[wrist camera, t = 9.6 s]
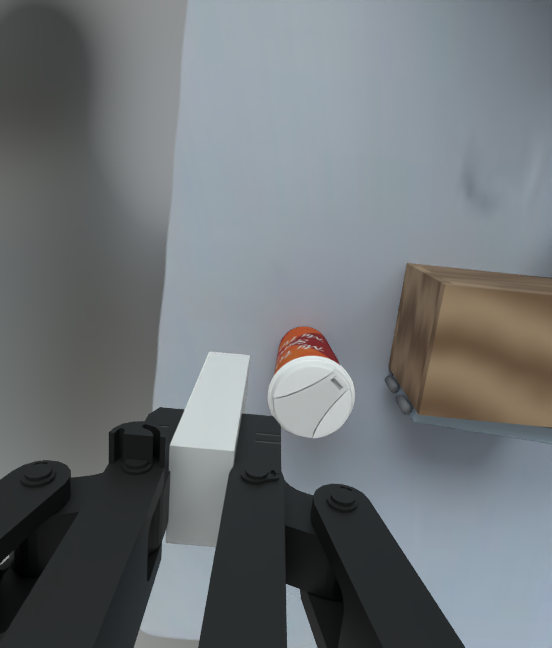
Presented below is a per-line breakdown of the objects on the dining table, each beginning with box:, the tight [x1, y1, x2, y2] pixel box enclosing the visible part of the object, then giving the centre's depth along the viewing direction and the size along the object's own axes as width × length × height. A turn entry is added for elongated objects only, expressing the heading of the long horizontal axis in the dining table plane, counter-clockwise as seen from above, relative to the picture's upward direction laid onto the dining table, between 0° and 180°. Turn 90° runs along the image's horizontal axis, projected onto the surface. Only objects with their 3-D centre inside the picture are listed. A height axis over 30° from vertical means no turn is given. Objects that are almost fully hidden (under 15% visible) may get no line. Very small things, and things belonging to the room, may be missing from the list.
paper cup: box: [268, 327, 355, 438], centre depth 47 cm, size 8×8×14 cm
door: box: [385, 375, 552, 444], centre depth 49 cm, size 3×18×9 cm, turn 80°
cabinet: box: [388, 263, 552, 427], centre depth 47 cm, size 12×18×12 cm, turn 84°
